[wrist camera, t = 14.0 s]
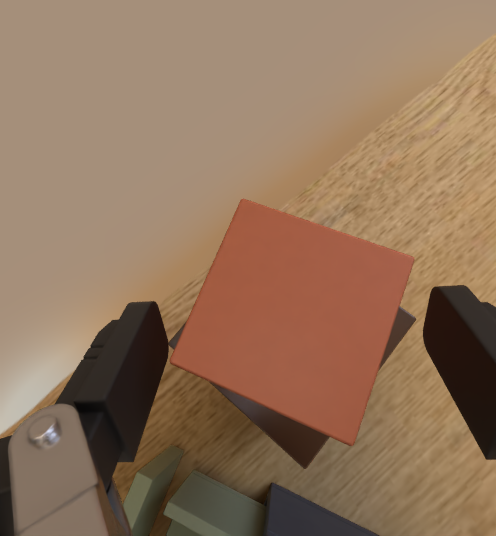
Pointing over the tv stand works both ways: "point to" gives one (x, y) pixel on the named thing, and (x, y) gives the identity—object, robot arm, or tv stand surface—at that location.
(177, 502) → the drawer
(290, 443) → the stand
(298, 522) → the cabinet
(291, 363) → the block
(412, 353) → the tv stand surface
